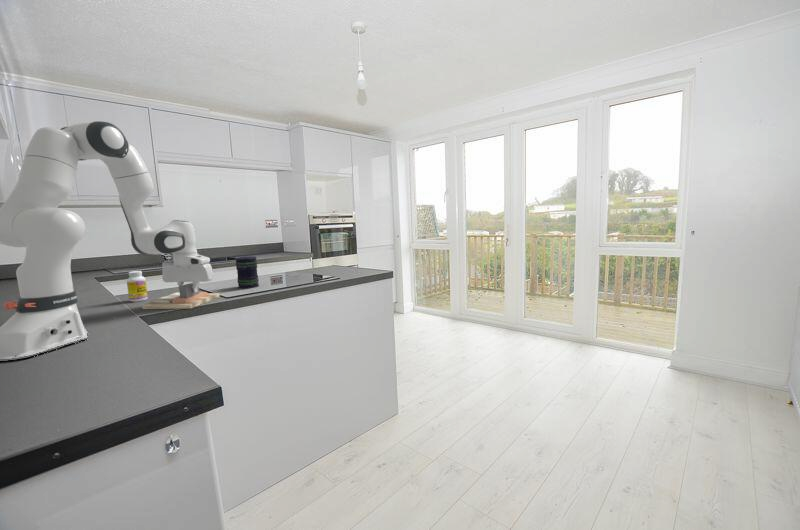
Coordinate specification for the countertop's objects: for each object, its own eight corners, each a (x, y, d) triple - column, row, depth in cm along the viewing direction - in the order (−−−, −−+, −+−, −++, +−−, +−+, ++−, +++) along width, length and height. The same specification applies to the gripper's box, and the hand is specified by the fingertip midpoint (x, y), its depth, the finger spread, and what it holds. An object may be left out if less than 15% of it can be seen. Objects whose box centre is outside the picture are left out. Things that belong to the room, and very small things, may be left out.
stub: (186, 302, 141) (184, 287, 140) (172, 303, 141) (170, 287, 140) (207, 294, 154) (205, 281, 154) (194, 295, 155) (192, 281, 154)
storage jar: (239, 285, 181) (236, 257, 179) (259, 284, 184) (257, 256, 182) (236, 289, 172) (233, 259, 170) (258, 287, 175) (255, 258, 173)
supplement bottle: (138, 302, 151) (134, 273, 149) (125, 302, 152) (121, 272, 150) (151, 298, 157) (148, 270, 155) (139, 298, 159) (135, 270, 157)
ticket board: (190, 308, 138) (189, 301, 137) (142, 309, 139) (141, 302, 139) (219, 296, 157) (218, 290, 157) (177, 297, 159) (176, 291, 158)
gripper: (156, 261, 143) (160, 294, 145) (204, 260, 142) (208, 293, 144) (167, 259, 149) (171, 290, 151) (213, 258, 148) (217, 290, 150)
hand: (189, 292), depth 147 cm, fingers closed on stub, 3 cm apart
